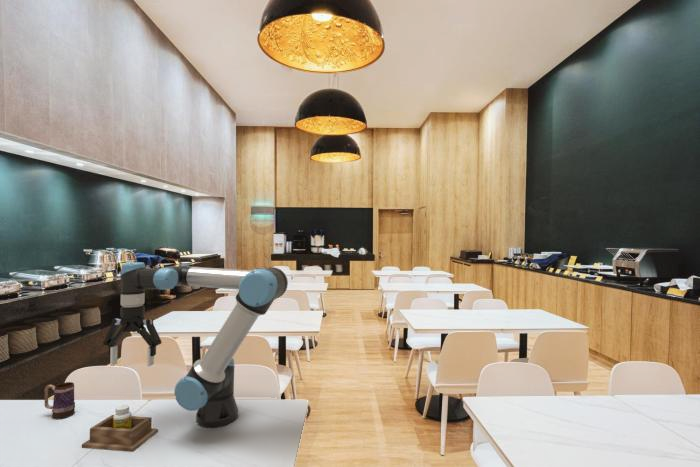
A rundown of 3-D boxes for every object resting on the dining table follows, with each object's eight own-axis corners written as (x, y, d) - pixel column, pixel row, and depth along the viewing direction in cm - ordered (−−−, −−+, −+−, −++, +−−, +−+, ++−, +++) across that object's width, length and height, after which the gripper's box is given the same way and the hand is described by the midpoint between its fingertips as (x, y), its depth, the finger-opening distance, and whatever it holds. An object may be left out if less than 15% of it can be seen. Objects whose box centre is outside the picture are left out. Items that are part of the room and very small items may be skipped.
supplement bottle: (130, 430, 132) (131, 402, 133) (131, 436, 128) (132, 408, 128) (112, 434, 130) (113, 406, 130) (112, 441, 125) (113, 411, 125)
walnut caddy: (158, 431, 134) (158, 415, 134) (132, 451, 121) (133, 434, 121) (111, 428, 136) (111, 412, 136) (81, 447, 123) (81, 430, 123)
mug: (79, 410, 150) (79, 380, 150) (67, 419, 143) (68, 387, 143) (51, 411, 149) (52, 381, 149) (38, 420, 142) (39, 387, 142)
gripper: (171, 303, 140) (171, 362, 139) (106, 303, 141) (105, 361, 140) (160, 307, 132) (160, 368, 132) (91, 307, 133) (91, 367, 133)
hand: (132, 365), depth 136 cm, fingers open, 13 cm apart
